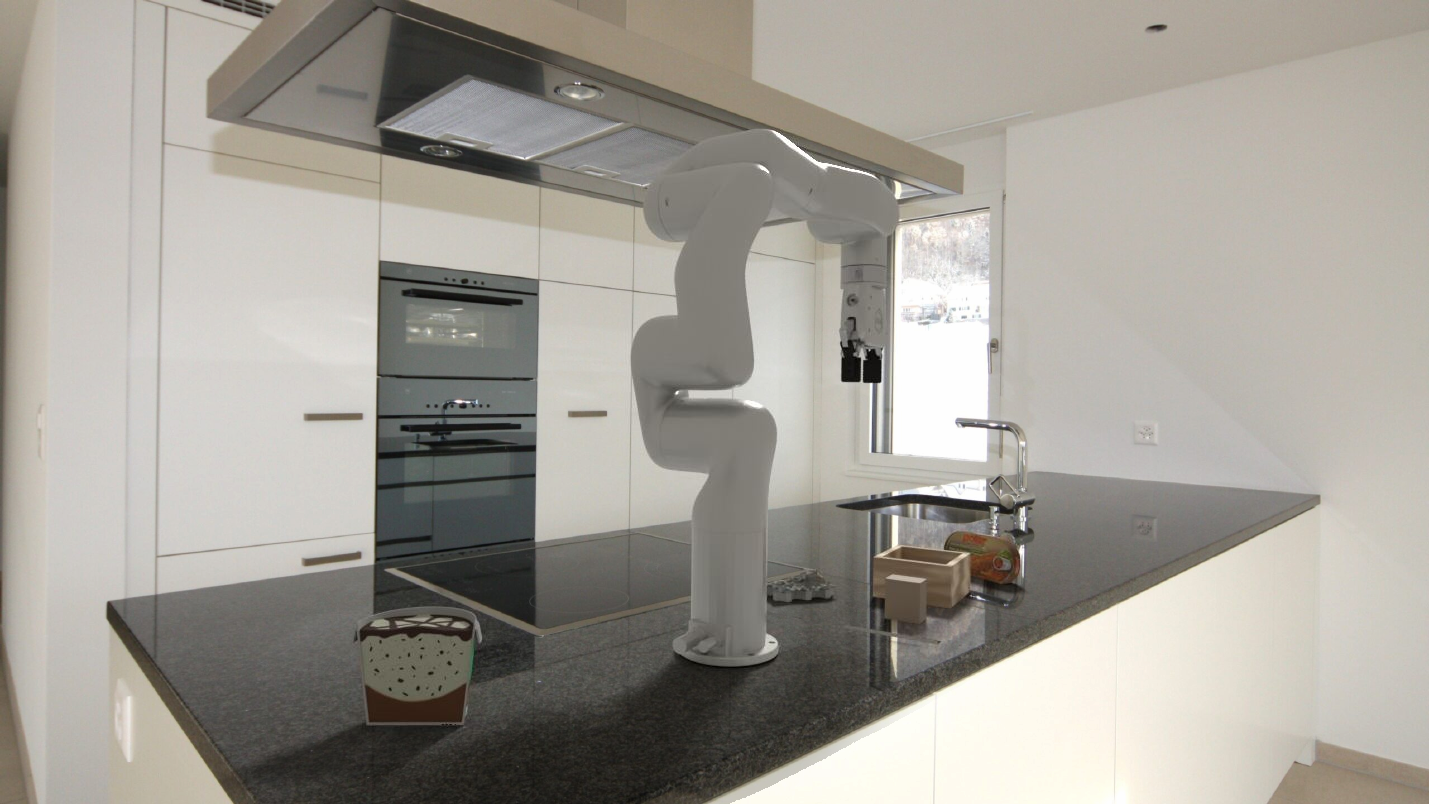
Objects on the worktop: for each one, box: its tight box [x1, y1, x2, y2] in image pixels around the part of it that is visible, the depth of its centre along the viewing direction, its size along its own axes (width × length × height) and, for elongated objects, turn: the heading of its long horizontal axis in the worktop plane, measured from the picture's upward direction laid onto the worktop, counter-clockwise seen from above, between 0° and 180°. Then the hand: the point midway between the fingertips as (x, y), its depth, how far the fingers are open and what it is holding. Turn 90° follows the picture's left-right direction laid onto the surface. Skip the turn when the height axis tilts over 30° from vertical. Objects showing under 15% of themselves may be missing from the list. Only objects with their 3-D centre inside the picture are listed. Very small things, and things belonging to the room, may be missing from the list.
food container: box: [350, 606, 483, 726], centre depth 81 cm, size 12×6×10 cm, turn 92°
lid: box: [843, 574, 942, 646], centre depth 113 cm, size 13×13×7 cm
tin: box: [943, 530, 1021, 585], centre depth 140 cm, size 15×3×8 cm, turn 31°
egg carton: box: [767, 569, 838, 603], centre depth 126 cm, size 11×8×4 cm
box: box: [872, 544, 971, 609], centre depth 127 cm, size 12×12×7 cm
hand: (861, 382), depth 133 cm, fingers open, 9 cm apart
